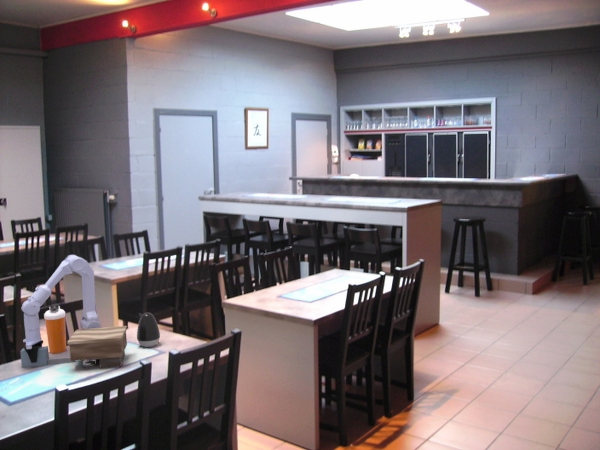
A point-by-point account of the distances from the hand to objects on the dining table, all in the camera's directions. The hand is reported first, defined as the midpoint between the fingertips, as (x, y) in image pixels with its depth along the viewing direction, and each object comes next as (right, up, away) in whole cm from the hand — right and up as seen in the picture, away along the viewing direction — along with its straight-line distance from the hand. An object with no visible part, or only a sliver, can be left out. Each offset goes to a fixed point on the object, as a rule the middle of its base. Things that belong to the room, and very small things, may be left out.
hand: (35, 360), depth 261 cm
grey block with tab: (+5, -2, +1) cm, 6 cm away
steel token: (+23, -2, -1) cm, 23 cm away
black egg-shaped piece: (+43, +2, +21) cm, 47 cm away
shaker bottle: (+3, 0, +18) cm, 18 cm away
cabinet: (+27, -1, 0) cm, 27 cm away
